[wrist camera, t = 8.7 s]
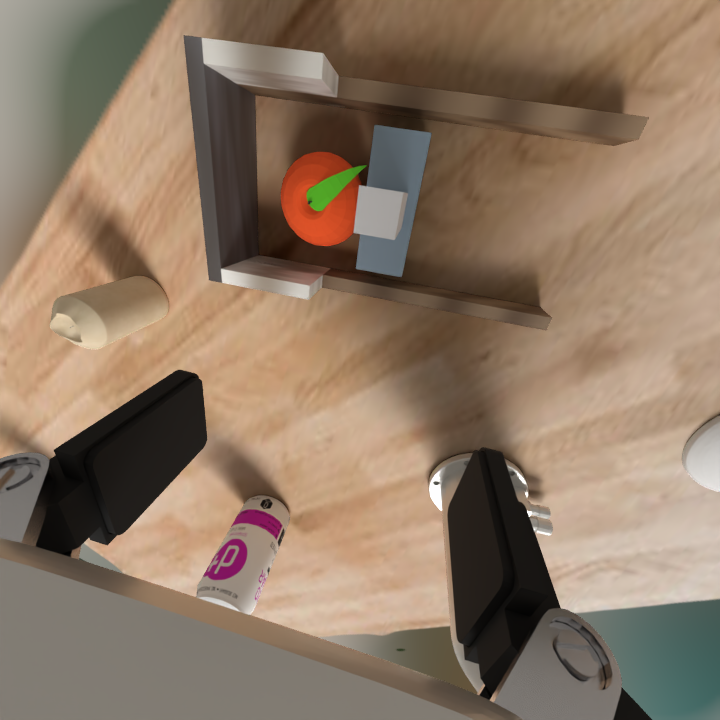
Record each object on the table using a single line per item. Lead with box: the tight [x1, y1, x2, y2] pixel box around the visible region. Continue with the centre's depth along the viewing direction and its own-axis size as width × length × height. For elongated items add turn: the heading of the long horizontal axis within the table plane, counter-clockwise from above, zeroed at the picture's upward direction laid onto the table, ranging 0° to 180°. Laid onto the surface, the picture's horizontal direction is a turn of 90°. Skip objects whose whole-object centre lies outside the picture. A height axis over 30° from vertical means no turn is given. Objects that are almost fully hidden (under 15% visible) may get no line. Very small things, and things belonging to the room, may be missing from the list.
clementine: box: [281, 152, 367, 246], centre depth 25 cm, size 8×7×7 cm
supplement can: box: [196, 495, 290, 615], centre depth 46 cm, size 8×8×15 cm
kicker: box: [353, 125, 432, 277], centre depth 22 cm, size 4×10×12 cm, turn 172°
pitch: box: [184, 35, 649, 330], centre depth 25 cm, size 30×15×7 cm, turn 82°
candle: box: [50, 276, 169, 350], centre depth 32 cm, size 6×6×10 cm
